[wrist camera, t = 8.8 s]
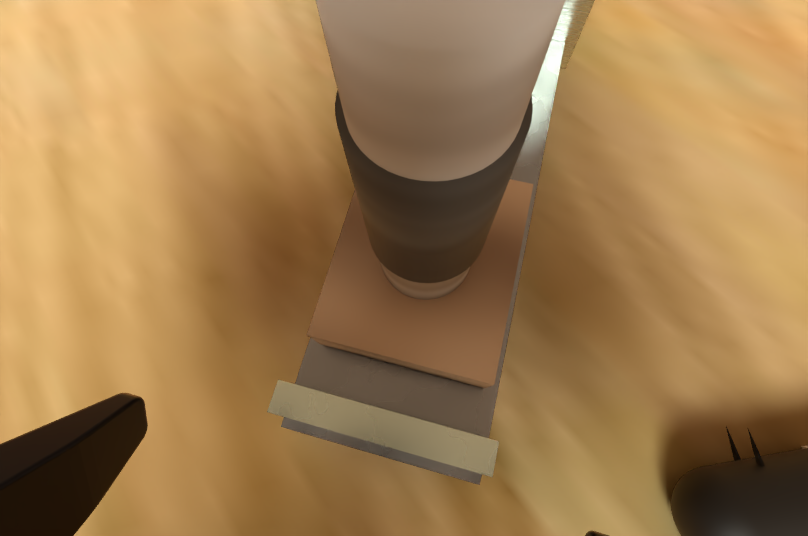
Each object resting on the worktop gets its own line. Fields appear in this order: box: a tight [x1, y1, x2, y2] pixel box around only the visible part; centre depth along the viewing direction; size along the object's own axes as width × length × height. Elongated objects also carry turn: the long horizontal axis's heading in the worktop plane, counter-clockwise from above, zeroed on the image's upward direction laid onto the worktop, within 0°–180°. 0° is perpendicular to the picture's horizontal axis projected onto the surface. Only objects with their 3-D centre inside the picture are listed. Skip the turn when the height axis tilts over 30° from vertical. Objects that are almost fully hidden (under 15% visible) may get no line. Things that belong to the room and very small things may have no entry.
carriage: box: [307, 0, 566, 388], centre depth 11 cm, size 7×6×12 cm
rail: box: [267, 0, 595, 485], centre depth 16 cm, size 22×9×8 cm, turn 165°
